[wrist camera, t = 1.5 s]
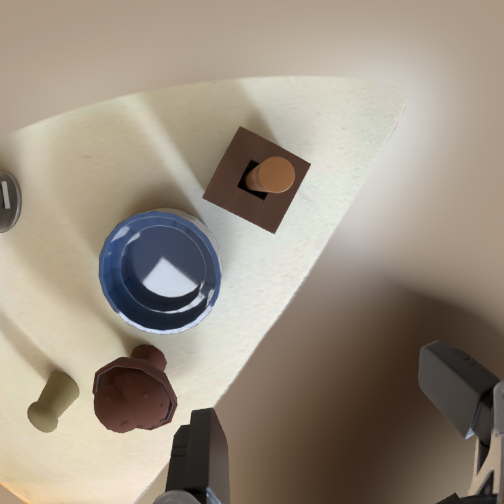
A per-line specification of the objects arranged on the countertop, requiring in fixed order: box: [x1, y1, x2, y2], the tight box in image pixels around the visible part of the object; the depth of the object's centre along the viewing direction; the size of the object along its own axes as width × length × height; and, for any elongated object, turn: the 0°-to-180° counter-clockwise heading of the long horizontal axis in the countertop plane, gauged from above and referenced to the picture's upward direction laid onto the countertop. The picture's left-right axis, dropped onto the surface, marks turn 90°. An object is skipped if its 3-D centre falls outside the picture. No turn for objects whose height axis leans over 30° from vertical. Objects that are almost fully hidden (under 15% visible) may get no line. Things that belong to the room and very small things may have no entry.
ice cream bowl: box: [93, 345, 177, 433], centre depth 34 cm, size 11×11×15 cm
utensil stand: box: [202, 126, 311, 234], centre depth 33 cm, size 8×8×8 cm
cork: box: [27, 371, 79, 433], centre depth 36 cm, size 6×6×11 cm
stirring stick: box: [243, 156, 295, 193], centre depth 27 cm, size 2×2×20 cm
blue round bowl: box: [99, 208, 222, 335], centre depth 35 cm, size 14×14×6 cm
